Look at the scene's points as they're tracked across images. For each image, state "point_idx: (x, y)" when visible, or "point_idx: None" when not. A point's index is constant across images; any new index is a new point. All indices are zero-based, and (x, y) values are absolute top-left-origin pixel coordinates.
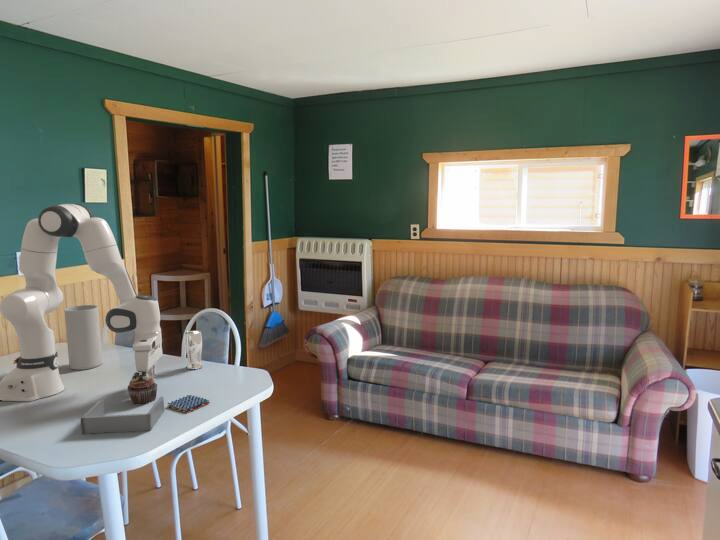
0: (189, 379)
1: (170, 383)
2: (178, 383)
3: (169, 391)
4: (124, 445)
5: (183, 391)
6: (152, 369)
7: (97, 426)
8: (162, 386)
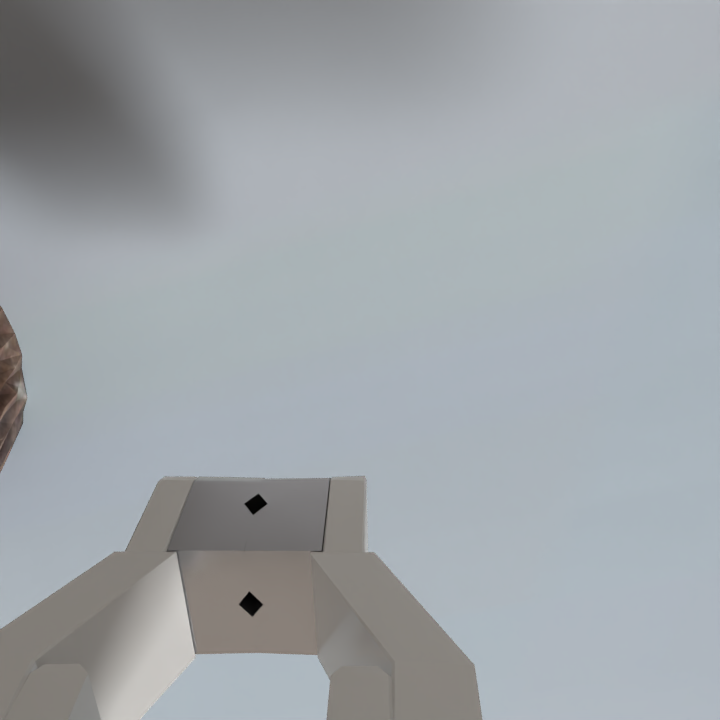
0: (676, 704)
1: (573, 533)
2: (542, 622)
3: None
4: None
5: (220, 715)
6: (334, 651)
7: None
8: (455, 460)
